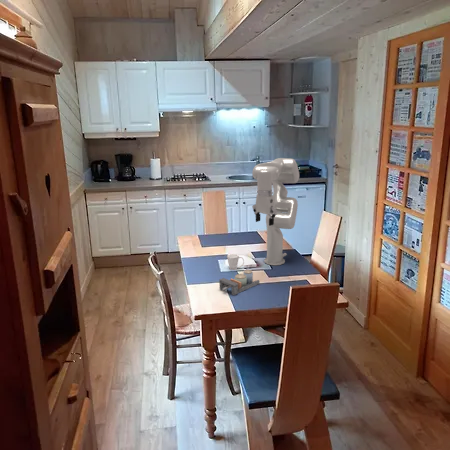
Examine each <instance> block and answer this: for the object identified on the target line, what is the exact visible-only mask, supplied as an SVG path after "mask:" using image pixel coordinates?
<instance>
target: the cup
mask: <svg viewBox="0 0 450 450" xmlns="http://www.w3.org/2000/svg"><path fill="white" fill-rule="evenodd" d="M226 258H227V263H228V264H227V265H228V267H229V269H230V270H231V271H235V270H238V269H239V268H241V267H242V266H244V264H245V260H244V258H243V257H242V256H240V255H239V254H237V253H229V254H227V255H226ZM239 259H242V261H243V263H242V264H241V265H239V266H238V264H239ZM237 268H238V269H237Z"/></svg>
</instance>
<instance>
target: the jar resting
mask: <svg viewBox="0 0 450 450" xmlns="http://www.w3.org/2000/svg"><path fill="white" fill-rule="evenodd" d="M234 280H237V281H239V282H241V287H243V286H245V285H247V276H246V275H244V273H238V274H235V275H234Z"/></svg>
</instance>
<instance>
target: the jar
mask: <svg viewBox="0 0 450 450" xmlns="http://www.w3.org/2000/svg"><path fill="white" fill-rule="evenodd" d="M243 274H244V275H246V276H247V284H250V283H252V282H254V272H253V270H251V269H245V270H244V271H243Z"/></svg>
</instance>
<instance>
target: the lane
mask: <svg viewBox="0 0 450 450" xmlns="http://www.w3.org/2000/svg"><path fill="white" fill-rule="evenodd" d="M259 284H260V279H257V280H255V281H254V280H253V282H252V283H250V284H247V285H245V286H243V287H241V288H238V283H235V282H233V281H230V279H227V278H225V277H222V278H220V279H219V290H220V291H223V290H222V289H223V288H225V287H228V286H231V287H230V288H231V295H232V296H236V295H238V294H239V293H242V292H244V291H246V290H248V289H251V288H253V287H255V286H257V285H259Z"/></svg>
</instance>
